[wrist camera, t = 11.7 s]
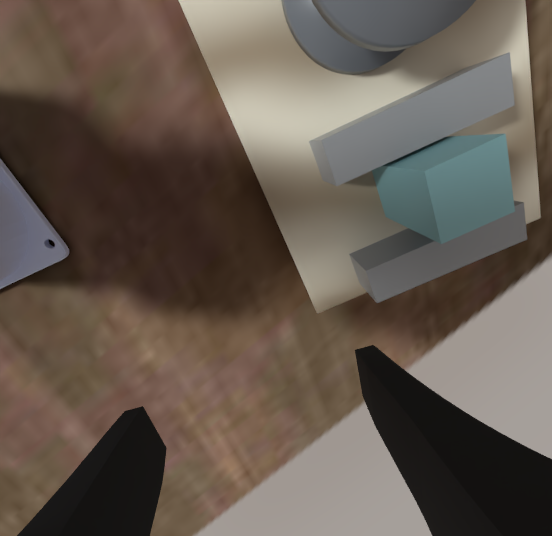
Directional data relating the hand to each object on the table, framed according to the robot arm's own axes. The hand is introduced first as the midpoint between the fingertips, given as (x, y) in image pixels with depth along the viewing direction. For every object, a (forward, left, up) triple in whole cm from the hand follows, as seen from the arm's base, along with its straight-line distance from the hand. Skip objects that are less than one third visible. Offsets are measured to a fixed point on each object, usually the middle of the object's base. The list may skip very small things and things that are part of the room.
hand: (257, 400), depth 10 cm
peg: (-2, +10, -8) cm, 13 cm away
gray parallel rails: (-2, +10, -8) cm, 13 cm away
